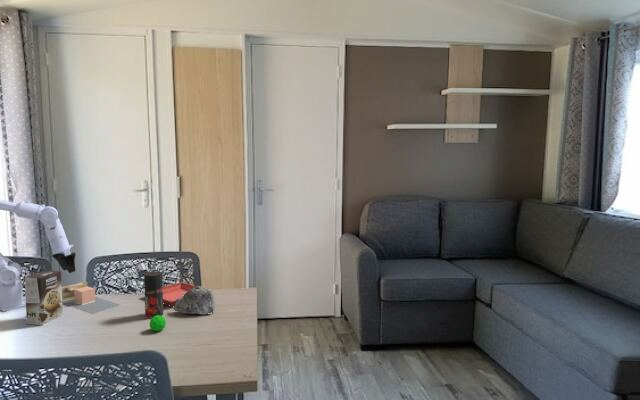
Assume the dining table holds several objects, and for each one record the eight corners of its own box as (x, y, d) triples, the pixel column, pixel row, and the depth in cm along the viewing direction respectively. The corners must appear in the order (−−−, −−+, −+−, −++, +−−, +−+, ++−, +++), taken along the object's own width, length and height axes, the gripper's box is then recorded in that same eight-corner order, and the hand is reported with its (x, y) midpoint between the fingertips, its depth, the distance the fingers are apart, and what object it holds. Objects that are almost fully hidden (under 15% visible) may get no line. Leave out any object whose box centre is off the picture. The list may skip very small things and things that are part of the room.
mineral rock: (171, 313, 156) (171, 286, 155) (193, 304, 166) (192, 279, 165) (199, 320, 150) (198, 292, 149) (219, 311, 160) (219, 284, 159)
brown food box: (42, 326, 143) (40, 278, 142) (26, 324, 145) (23, 276, 143) (64, 316, 152) (62, 270, 151) (48, 314, 154) (45, 269, 152)
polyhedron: (150, 334, 138) (150, 319, 138) (148, 328, 142) (148, 314, 142) (167, 331, 140) (167, 317, 140) (165, 326, 145) (164, 312, 144)
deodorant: (166, 313, 156) (165, 272, 155) (155, 319, 151) (154, 276, 149) (153, 311, 158) (152, 270, 157) (141, 316, 153) (140, 274, 151)
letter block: (74, 302, 165) (74, 289, 164) (87, 298, 169) (87, 286, 169) (82, 305, 162) (81, 291, 162) (95, 301, 167) (94, 288, 166)
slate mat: (54, 301, 167) (54, 300, 167) (82, 293, 176) (82, 292, 176) (92, 314, 154) (92, 313, 154) (121, 305, 163) (121, 304, 163)
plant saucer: (181, 289, 186) (181, 281, 185) (210, 297, 175) (210, 289, 175) (143, 300, 171) (142, 291, 171) (171, 310, 160) (171, 301, 160)
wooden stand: (55, 300, 166) (55, 287, 166) (83, 293, 175) (83, 280, 175) (64, 303, 163) (63, 290, 162) (92, 295, 172) (92, 283, 172)
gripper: (74, 235, 163) (86, 268, 166) (63, 232, 173) (75, 264, 176) (53, 242, 158) (66, 276, 161) (43, 239, 168) (55, 271, 171)
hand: (69, 270), depth 168 cm, fingers open, 7 cm apart
